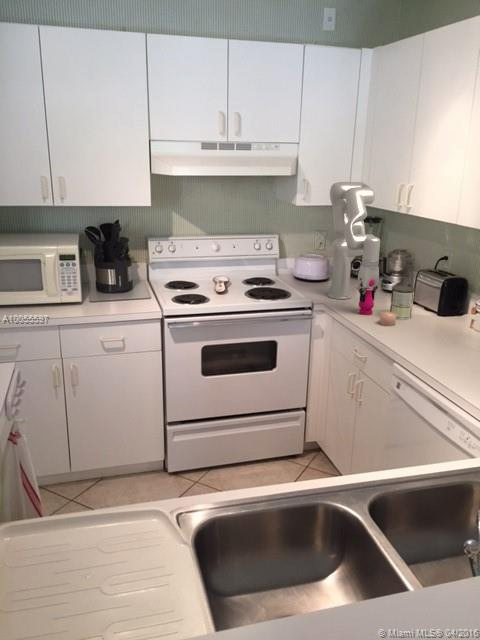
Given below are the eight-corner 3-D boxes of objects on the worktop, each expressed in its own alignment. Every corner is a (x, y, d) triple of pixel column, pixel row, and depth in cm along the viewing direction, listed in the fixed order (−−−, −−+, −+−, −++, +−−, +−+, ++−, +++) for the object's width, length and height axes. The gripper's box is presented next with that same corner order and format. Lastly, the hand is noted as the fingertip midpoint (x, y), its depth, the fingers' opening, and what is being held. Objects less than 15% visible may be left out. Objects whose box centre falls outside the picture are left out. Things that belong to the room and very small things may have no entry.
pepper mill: (373, 316, 254) (377, 275, 248) (357, 314, 255) (361, 274, 249) (372, 311, 261) (376, 271, 254) (357, 310, 262) (361, 270, 256)
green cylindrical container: (385, 313, 257) (388, 285, 253) (404, 312, 259) (407, 284, 255) (395, 320, 248) (398, 291, 243) (415, 319, 250) (419, 290, 246)
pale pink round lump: (376, 323, 244) (377, 312, 242) (386, 320, 247) (388, 310, 246) (387, 327, 238) (388, 316, 236) (398, 324, 241) (399, 314, 240)
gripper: (377, 260, 258) (373, 296, 263) (351, 263, 249) (348, 301, 255) (388, 263, 252) (385, 300, 257) (362, 266, 243) (359, 305, 249)
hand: (366, 300), depth 256 cm, fingers closed on pepper mill, 5 cm apart
